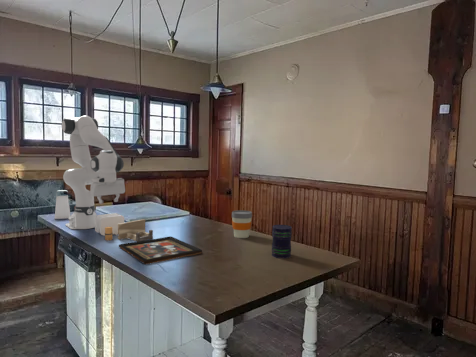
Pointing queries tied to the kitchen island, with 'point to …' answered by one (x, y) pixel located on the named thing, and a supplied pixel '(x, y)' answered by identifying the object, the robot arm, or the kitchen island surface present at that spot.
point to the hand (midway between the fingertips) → (108, 202)
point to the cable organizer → (108, 222)
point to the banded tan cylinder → (108, 233)
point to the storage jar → (281, 241)
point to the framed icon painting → (159, 249)
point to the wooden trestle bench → (134, 231)
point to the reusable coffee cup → (241, 223)
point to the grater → (62, 207)
